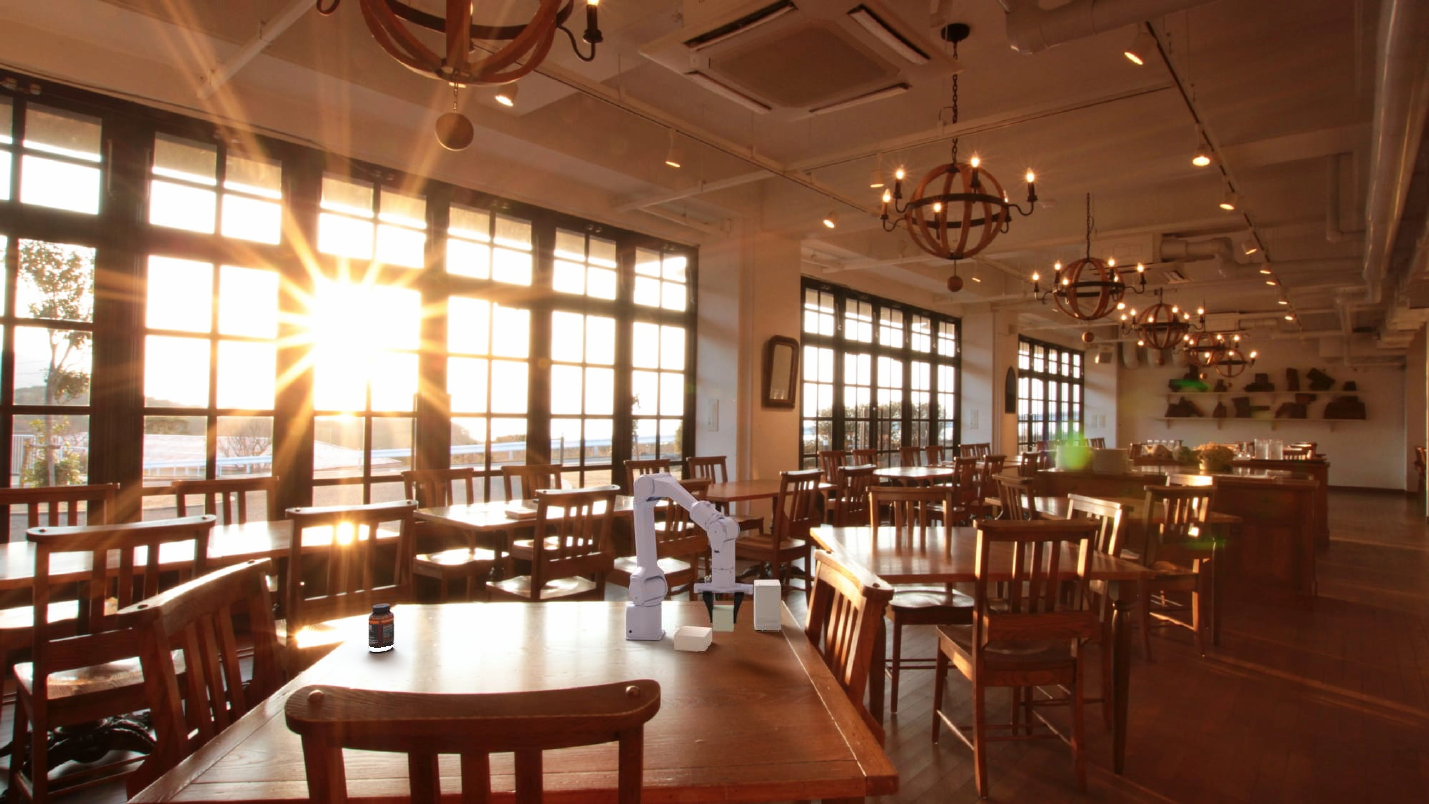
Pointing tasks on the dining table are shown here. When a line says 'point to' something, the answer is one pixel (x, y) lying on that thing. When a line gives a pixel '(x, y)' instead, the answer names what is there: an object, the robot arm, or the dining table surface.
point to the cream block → (692, 638)
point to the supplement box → (767, 605)
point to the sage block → (723, 618)
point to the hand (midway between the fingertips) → (723, 622)
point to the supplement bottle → (381, 626)
